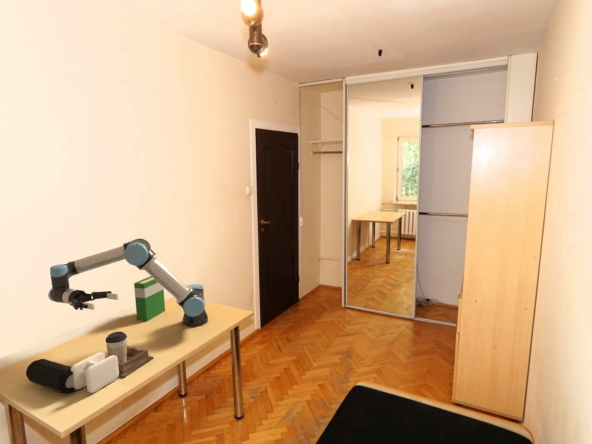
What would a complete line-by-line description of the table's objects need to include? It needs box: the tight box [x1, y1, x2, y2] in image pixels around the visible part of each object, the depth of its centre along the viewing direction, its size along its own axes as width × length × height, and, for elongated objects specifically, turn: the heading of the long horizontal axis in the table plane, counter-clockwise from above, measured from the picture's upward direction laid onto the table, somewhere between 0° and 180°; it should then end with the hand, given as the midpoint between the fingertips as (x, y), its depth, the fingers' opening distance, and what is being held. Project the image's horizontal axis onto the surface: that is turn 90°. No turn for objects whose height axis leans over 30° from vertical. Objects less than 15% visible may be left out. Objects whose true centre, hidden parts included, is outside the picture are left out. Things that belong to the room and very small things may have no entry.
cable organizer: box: [71, 351, 119, 394], centre depth 158 cm, size 15×11×12 cm
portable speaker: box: [25, 358, 78, 394], centre depth 158 cm, size 26×10×10 cm, turn 66°
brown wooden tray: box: [118, 345, 154, 379], centre depth 175 cm, size 16×18×5 cm
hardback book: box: [133, 275, 166, 322], centre depth 233 cm, size 18×7×24 cm, turn 163°
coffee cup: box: [105, 331, 128, 363], centre depth 174 cm, size 9×9×15 cm
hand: (106, 301), depth 178 cm, fingers open, 13 cm apart
